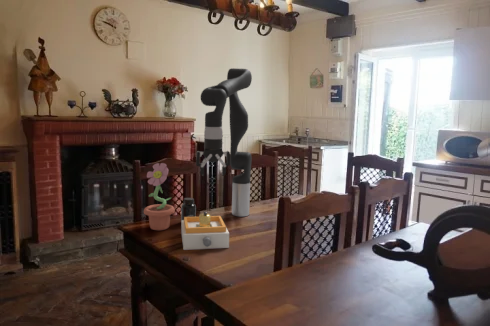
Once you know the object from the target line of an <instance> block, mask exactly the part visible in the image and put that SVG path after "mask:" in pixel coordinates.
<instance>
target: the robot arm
mask: <svg viewBox="0 0 490 326" xmlns="http://www.w3.org/2000/svg"><path fill="white" fill-rule="evenodd" d="M226 77H227V78H226V80H223V81H221V82H219V83H217V84H216V85H212V86H208V87H206V88H204V89H203V90H202V91H201V94H200V101H201V103H202V104H203V105H204V106H207V107H215V108H214V110H213V111H208V112H206V113H205V116H204V132H203V133H204V136H203V138H204V142H203V143H204V145H203V148H204V150H203V151H199V150H197V151H196V156H195V157H196V158H195V165H196V167H199V168H200V175H201V176H202V177H204V176H205V165H206V164H207V163H208V162H210V163H212V162H214V163H217V162H219V163H220V164H221V165H222V166H221V175H222V177H224V176H225V175H226V173H227V172H226V171H227V167H229V166H230V167H231V168H230V169H231V170H240V171H241V170H243V172H242V173H240V174H238V175H235V176H233V177H232V186H231V187H232V190H231V191H232V195H231V196H232V197H231V198H232V199H231V200H232V201H231V215H232V216H235V217H248V216H249V215H250V199H251V174H252V173H251V172H252V159H253V158H252V157H253V156H252V153H251V152H248V151H238V147H239V144H240V142H241V140H242V138H244V136H245V135H246V133H247V131H248V128H249V114H248V111H247V109H246V108H245V106H244V105H243V103H242V101H241V99H240V97H239V94H238V92H239V91H242V90H244V89H248V88H249V87H250V86H251V84H252V80H253V79H252V77H253V76H252V72H251V70H249V69H247V68H229V69H228V71H227V75H226ZM227 100H228V102H229V103H228V104H229V131H230V148H229V149H230V151H229V150H226V151H223V136H224V135H223V115H224V110H225V107H226V103H227ZM202 155H203V156H204V158H203V160H202V161H201V160H200V159H201V157H202ZM223 156H224V157H226V158H225V159H226V162H224V160H223V159H222V158H223ZM200 161H201V163H200Z"/></svg>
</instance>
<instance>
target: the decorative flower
mask: <svg viewBox="0 0 490 326" xmlns="http://www.w3.org/2000/svg"><path fill="white" fill-rule="evenodd" d="M152 168H153V171H147V173H146V178H147V179H148V180H147V183H148V184H149V185H152V186H154V187H155V189H154V191H153V192H151V193H150V194H148V197H149V198H151V197H153V198H154V200H156V201H157V202H161V203H159V204H156V203H155V204H151V205H148V206H146V207H144V209H143V214H144V215H146V216H148V221H149V227H150V229H151V230H154V231H164V230H168V229H169V227H170V225H171V215H173V214H174V213H175V211H176V209H175V207H174V206H173V205H171V204H167V201H169V200H171V199H172V198H173V197H168V198H166V199H165V198H163V197H162V198H161V197H159V196H158V194H159V191H160V193H161V194H163V190H162V189H163V188H162V186H161V185H162V184H163V183H164V182H165V181H166V180H167V177H168V175H169V168H168V166H167V164H166V163H164V162H161V163H157V162H156V163H155V164H153V165H152Z"/></svg>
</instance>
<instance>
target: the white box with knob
mask: <svg viewBox="0 0 490 326" xmlns="http://www.w3.org/2000/svg"><path fill="white" fill-rule="evenodd" d="M180 222H181V226H180V229H181V230H180V231H181V240H182V248H183V250H184V251H188V250H209V249H211V250H212V249H229V248H230V232H229V230H228V228H227V225H226V224H225V222H224V220H223V218H222V216H221V215H211V217H210V227H199V216H196V217H184V220H181V219H180Z"/></svg>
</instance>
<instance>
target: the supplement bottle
mask: <svg viewBox="0 0 490 326" xmlns="http://www.w3.org/2000/svg"><path fill="white" fill-rule="evenodd" d="M196 213H197V206H196V204H195V199H194V198H193V197H184V198H183V203H182V204H181V213H180V214H181V216H180V221H181V220H184V217H197V216H196Z"/></svg>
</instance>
